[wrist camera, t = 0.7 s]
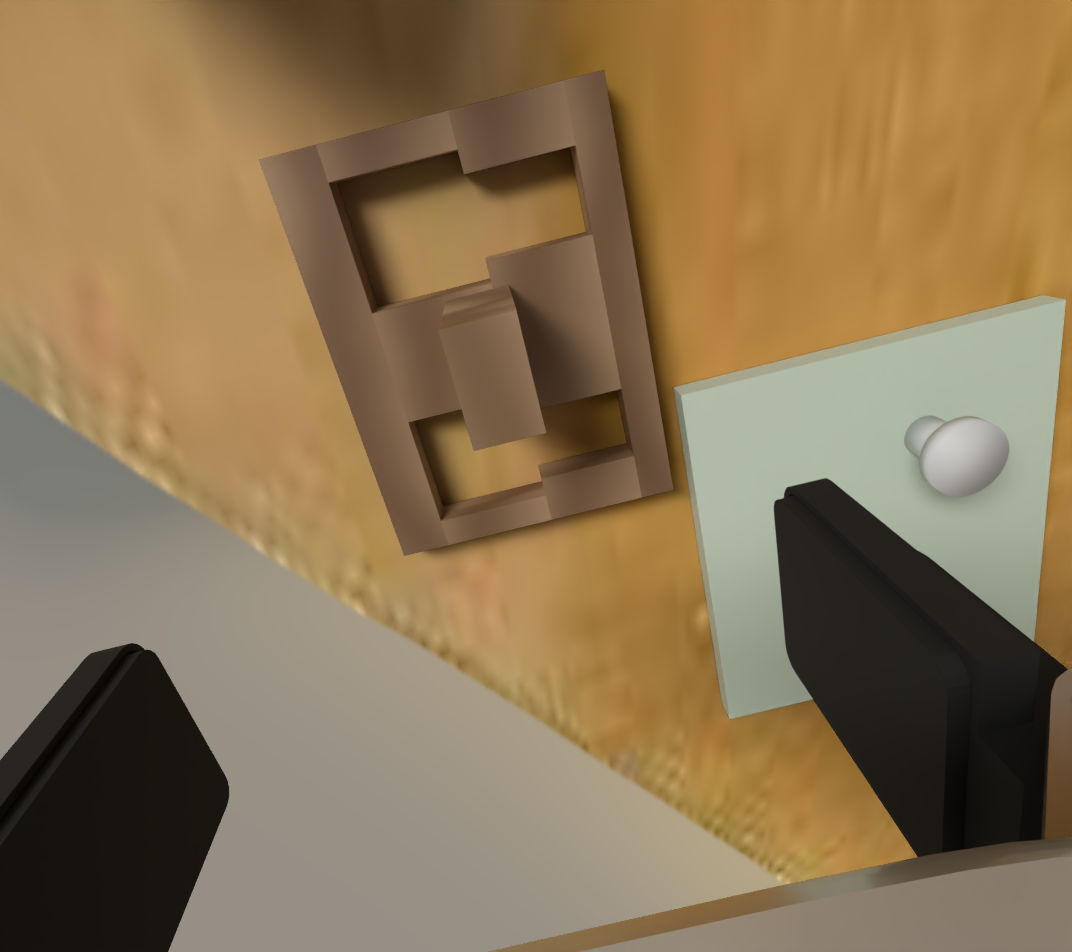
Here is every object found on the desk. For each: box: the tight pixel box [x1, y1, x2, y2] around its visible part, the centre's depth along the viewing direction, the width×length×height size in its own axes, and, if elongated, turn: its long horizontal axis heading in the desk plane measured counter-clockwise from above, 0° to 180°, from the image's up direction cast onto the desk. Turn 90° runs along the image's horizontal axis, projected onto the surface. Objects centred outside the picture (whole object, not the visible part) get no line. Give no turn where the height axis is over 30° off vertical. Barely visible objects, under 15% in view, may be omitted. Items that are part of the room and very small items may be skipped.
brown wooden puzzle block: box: [259, 70, 673, 556], centre depth 24 cm, size 12×16×7 cm
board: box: [673, 295, 1066, 719], centre depth 30 cm, size 16×18×4 cm
